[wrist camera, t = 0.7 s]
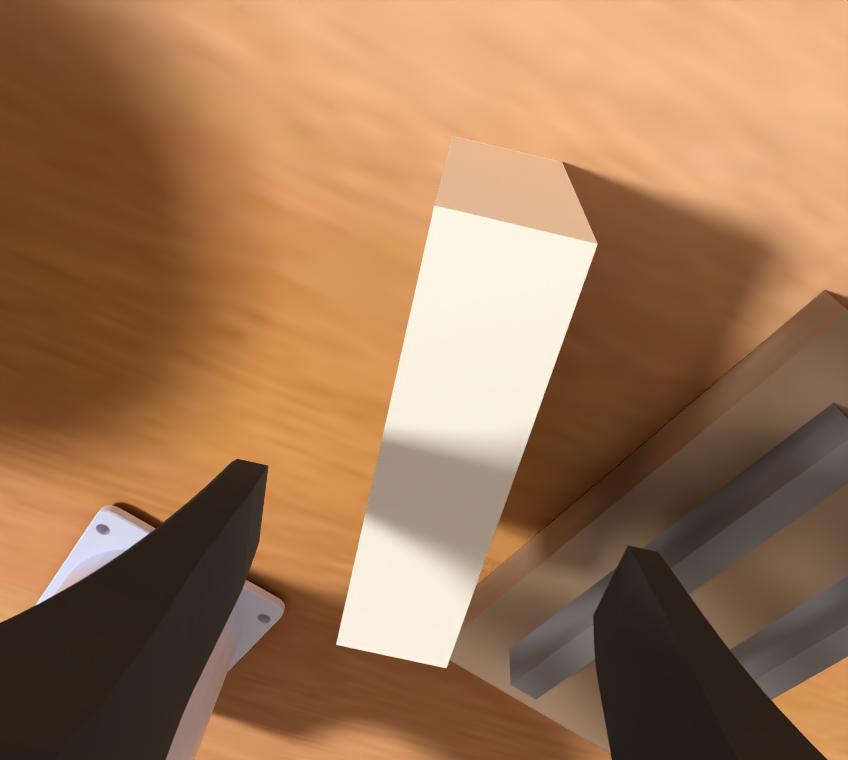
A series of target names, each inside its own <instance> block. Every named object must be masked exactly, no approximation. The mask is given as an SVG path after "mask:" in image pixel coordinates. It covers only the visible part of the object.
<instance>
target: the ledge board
mask: <svg viewBox="0 0 848 760" xmlns="http://www.w3.org/2000/svg"><path fill="white" fill-rule="evenodd" d="M628 545H629V546H634V547H638V548H643V549H647V550H652V551H656V552H658V553H659V554H660V555H661V557H662V558H663V559H664V561H665V562H666V563H667V565H668V566H669V567H670V569H671V570H672V572H673V573H674V574H675V576H676V577H677V579H678V580H679V581H680V583H681V584H682V586H683V587H684V588H685V590H686V591H687V593H688V594H689V595H690V597H691V598H692V600H693V601H694V602H695V604H696V605H697V607H698V608H699V609H700V611H701V612H702V613H703V615H704V616H705V618H706V619H707V620H708V622H709V623H710V624H711V626H712V627H713V628H714V630H715V631H716V632H717V634H718V635H719V636H720V638H721V639H722V640H723V642H724V643H725V644H726V646H727V647H728V648H729V650H730V651H731V652H732V653H733V655H734V656H735V657H736V658H737V660H738V661H739V662H740V664H741V665H742V666H743V667H744V668H745V670H746V671H747V672H748V673H749V674H750V676H751V677H752V678H753V679H754V681H755V682H756V683H757V684H758V685H759V687H760V688H761V689H762V690H763V691H764V693H765V694H766V695H767V696H768V697H769V698H770V699H771V700H772V699H774V698H775V697H777V696H779V695H781V694H783V693H784V692H786V691H788V690H790V689H791V688H793V687H795V686H797V685H798V684H800V683H802V682H804V681H805V680H807V679H809V678H811V677H812V676H814V675H816V674H818V673H819V672H821V671H823V670H825V669H827V668H828V667H830V666H832V665H834V664H835V663H837V662H839V661H841V660H842V659H844V658H846V657H848V310H847V309H846V308H845V307H844V306H843V305H841V304H840V303H839V302H838V301H837V300H836V299H835V298H833V297H832V296H831V295H830V294H829V293H828V292H827V291H825V290H824V291H823V292H822V293H821V294H819V295H818V296H817V297H816V298H815V299H814V300H812V301H811V302H810V303H809V304H808V305H806V306H805V307H804V308H803V309H802V310H801V311H799V312H798V313H797V314H796V315H795V316H794V317H792V318H791V319H790V320H789V321H788V322H786V323H785V324H784V325H783V326H782V327H781V328H779V329H778V330H777V331H776V332H775V333H774V334H772V335H771V336H770V337H769V338H768V339H766V340H765V341H764V342H763V343H762V344H761V345H759V346H758V347H757V348H756V349H755V350H754V351H752V352H751V353H750V354H749V355H748V356H746V357H745V358H744V359H743V360H742V361H741V362H739V363H738V364H737V365H736V366H735V367H734V368H732V369H731V370H730V371H729V372H728V373H726V374H725V375H724V376H723V377H722V378H721V379H719V380H718V381H717V382H716V383H715V384H714V385H712V386H711V387H710V388H709V389H708V390H706V391H705V392H704V393H703V394H702V395H701V396H699V397H698V398H697V399H696V400H695V401H694V402H692V403H691V404H690V405H689V406H688V407H686V408H685V409H684V410H683V411H682V412H681V413H679V414H678V415H677V416H676V417H675V418H673V419H672V420H671V421H670V422H669V423H668V424H666V425H665V426H664V427H663V428H662V429H661V430H659V431H658V432H657V433H656V434H655V435H653V436H652V437H651V438H650V439H649V440H648V441H646V442H645V443H644V444H643V445H642V446H641V447H639V448H638V449H637V450H636V451H635V452H633V453H632V454H631V455H630V456H629V457H628V458H626V459H625V460H624V461H623V462H622V463H621V464H619V465H618V466H617V467H616V468H615V469H613V470H612V471H611V472H610V473H609V474H608V475H606V476H605V477H604V478H603V479H602V480H601V481H599V482H598V483H597V484H596V485H595V486H593V487H592V488H591V489H590V490H589V491H588V492H586V493H585V494H584V495H583V496H582V497H581V498H579V499H578V500H577V501H576V502H575V503H573V504H572V505H571V506H570V507H569V508H568V509H566V510H565V511H564V512H563V513H562V514H561V515H559V516H558V517H557V518H556V519H555V520H553V521H552V522H551V523H550V524H549V525H548V526H546V527H545V528H544V529H543V530H542V531H541V532H539V533H538V534H537V535H536V536H535V537H533V538H532V539H531V540H530V541H529V542H528V543H526V544H525V545H524V546H523V547H522V548H521V549H519V550H518V551H517V552H516V553H515V554H513V555H512V556H511V557H510V558H509V559H508V560H506V561H505V562H504V563H503V564H502V565H501V566H499V567H498V568H497V569H496V570H495V571H493V572H492V573H491V574H490V575H489V576H488V577H486V578H485V579H484V580H483V581H482V582H481V583H479V584H478V585H477V586H476V587H475V590H474V592H473V595H472V598H471V601H470V604H469V607H468V609H467V612H466V615H465V618H464V621H463V623H462V626H461V629H460V632H459V635H458V637H457V640H456V643H455V646H454V649H453V651H452V654H451V657H450V661H451V662H453V663H455V664H457V665H458V666H460V667H462V668H464V669H465V670H467V671H469V672H470V673H472V674H474V675H476V676H477V677H479V678H481V679H482V680H484V681H486V682H488V683H489V684H491V685H493V686H494V687H496V688H498V689H500V690H501V691H503V692H505V693H506V694H508V695H510V696H512V697H513V698H515V699H517V700H519V701H520V702H522V703H524V704H525V705H527V706H529V707H531V708H532V709H534V710H536V711H537V712H539V713H541V714H543V715H544V716H546V717H548V718H549V719H551V720H553V721H555V722H556V723H558V724H560V725H562V726H563V727H565V728H567V729H568V730H570V731H572V732H574V733H575V734H577V735H579V736H580V737H582V738H584V739H586V740H587V741H589V742H591V743H592V744H594V745H596V746H598V747H599V748H601V749H603V750H605V751H606V752H608V753H610V754H611V752H610V746H609V741H608V735H607V730H606V724H605V718H604V713H603V707H602V702H601V696H600V690H599V684H598V678H597V672H596V666H595V651H594V627H593V615H594V613H595V611H596V609H597V606H598V604H599V602H600V600H601V598H602V596H603V594H604V592H605V590H606V588H607V586H608V584H609V582H610V580H611V578H612V576H613V574H614V572H615V570H616V568H617V566H618V564H619V562H620V560H621V558H622V556H623V554H624V552H625V550H626V548H627V546H628Z"/></svg>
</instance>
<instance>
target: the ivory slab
mask: <svg viewBox="0 0 848 760" xmlns="http://www.w3.org/2000/svg"><path fill="white" fill-rule="evenodd" d="M597 245H598V244H597V241H596V239H595V237H594V234H593V232H592V230H591V227H590V225H589V223H588V220H587V218H586V216H585V214H584V211H583V209H582V207H581V204H580V202H579V200H578V197H577V195H576V193H575V191H574V188H573V186H572V184H571V181H570V179H569V177H568V174H567V172H566V170H565V168H564V165H563V163H562V161H558V160H554V159H550V158H546V157H541V156H537V155H533V154H529V153H525V152H521V151H516V150H512V149H508V148H504V147H500V146H496V145H492V144H487V143H483V142H479V141H475V140H471V139H467V138H462V137H458V136H454V135H452V138H451V142H450V146H449V150H448V154H447V158H446V162H445V166H444V170H443V174H442V178H441V182H440V186H439V190H438V194H437V198H436V202H435V205H434V210H433V214H432V219H431V223H430V228H429V232H428V237H427V241H426V246H425V250H424V255H423V259H422V264H421V268H420V272H419V277H418V281H417V286H416V290H415V295H414V299H413V304H412V308H411V313H410V317H409V322H408V326H407V331H406V335H405V339H404V344H403V348H402V353H401V357H400V362H399V366H398V371H397V375H396V380H395V384H394V389H393V393H392V398H391V402H390V406H389V411H388V415H387V420H386V424H385V429H384V433H383V438H382V442H381V447H380V451H379V456H378V460H377V465H376V469H375V473H374V478H373V482H372V487H371V491H370V496H369V500H368V505H367V509H366V514H365V518H364V523H363V527H362V532H361V536H360V540H359V545H358V549H357V554H356V558H355V563H354V567H353V572H352V576H351V581H350V585H349V590H348V594H347V599H346V603H345V607H344V612H343V616H342V621H341V625H340V630H339V634H338V639H337V643H336V645H340V646H344V647H349V648H354V649H359V650H363V651H368V652H373V653H377V654H382V655H387V656H391V657H396V658H401V659H405V660H410V661H415V662H419V663H424V664H429V665H433V666H438V667H443V668H447V665H448V663H449V660H450V657H451V654H452V651H453V649H454V646H455V643H456V640H457V637H458V635H459V632H460V629H461V626H462V623H463V621H464V618H465V615H466V612H467V609H468V607H469V604H470V601H471V598H472V595H473V592H474V590H475V587H476V584H477V581H478V578H479V576H480V573H481V570H482V567H483V564H484V562H485V559H486V556H487V553H488V550H489V548H490V545H491V542H492V539H493V536H494V534H495V531H496V528H497V525H498V522H499V520H500V517H501V514H502V511H503V508H504V506H505V503H506V500H507V497H508V494H509V492H510V489H511V486H512V483H513V480H514V477H515V475H516V472H517V469H518V466H519V463H520V461H521V458H522V455H523V452H524V449H525V447H526V444H527V441H528V438H529V435H530V433H531V430H532V427H533V424H534V421H535V419H536V416H537V413H538V410H539V407H540V405H541V402H542V399H543V396H544V393H545V391H546V388H547V385H548V382H549V379H550V377H551V374H552V371H553V368H554V365H555V362H556V360H557V357H558V354H559V351H560V348H561V346H562V343H563V340H564V337H565V334H566V332H567V329H568V326H569V323H570V320H571V318H572V315H573V312H574V309H575V306H576V304H577V301H578V298H579V295H580V292H581V290H582V287H583V284H584V281H585V278H586V276H587V273H588V270H589V267H590V264H591V262H592V259H593V256H594V253H595V250H596V247H597Z"/></svg>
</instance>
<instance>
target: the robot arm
mask: <svg viewBox="0 0 848 760" xmlns="http://www.w3.org/2000/svg"><path fill="white" fill-rule="evenodd" d="M267 473H268V466H267V465H263V464H258V463H254V462H249V461H245V460H240V459H236V460H235V461H233V462H231V463H230V464H229V465H228V466H227V467H226V468H225V469H224V470H223V471H222V472H221V473H220V474H219V475H218V476H217V477H216V478H215V479H213V480H212V481H211V482H210V483H209V484H208V485H207V486H206V487H205V488H204V489H203V490H201V491H200V492H199V493H198V494H197V495H196V496H195V497H193V498H192V499H191V500H190V501H189V502H188V503H186V504H185V505H184V506H183V507H182V508H180V509H179V510H178V511H177V512H176V513H174V514H173V515H172V516H171V517H170V518H168V519H167V520H166V521H165V522H163V523H162V524H161V525H160V526H158V527H157V528H154V527H152V526H150V525H149V524H147V523H145V522H143V521H142V520H140V519H138V518H136V517H135V516H133V515H131V514H129V513H127V512H126V511H124V510H122V509H120V508H119V507H116V506H113V505H106V506H103V507H102V508H101V509H100V510H99V512H98V513H97V514H96V516H95V517H94V519H93V520H92V522H91V523H90V525H89V526H88V528H87V529H86V531H85V532H84V534H83V535H82V537H81V538H80V539H79V541H78V542H77V544H76V545H75V547H74V548H73V550H72V551H71V553H70V554H69V556H68V557H67V559H66V560H65V562H64V563H63V565H62V566H61V568H60V569H59V571H58V572H57V574H56V575H55V577H54V578H53V580H52V581H51V583H50V584H49V586H48V587H47V589H46V590H45V591H44V593H43V594H42V596H41V597H40V599H39V600H38V602H37V603H36V605H35V606H34V607H32V608H30V609H28V610H26V611H24V612H22V613H20V614H18V615H16V616H14V617H12V618H10V619H8V620H5V621H3V622H1V623H0V760H194V759H195V756H196V754H197V751H198V748H199V746H200V743H201V741H202V738H203V735H204V733H205V730H206V727H207V725H208V722H209V720H210V717H211V714H212V712H213V709H214V706H215V704H216V701H217V699H218V696H219V693H220V691H221V688H222V685H223V683H224V680H225V678H226V675H227V672H228V671H229V670H230V669H231V668H232V667H233V666H234V665H235V664H236V663H237V662H238V661H239V660H240V659H241V658H242V657H243V656H244V655H245V654H246V653H247V652H248V651H249V650H250V649H251V648H252V647H253V646H254V645H255V643H256V642H257V641H258V640H259V639H260V638H261V637H262V636H263V635H264V634H265V633H266V632H267V631H268V630H269V629H270V628H271V627H272V626H273V625H274V624H275V623H276V622H277V621H278V620H279V619H280V618H281V617H282V615H283V613H284V610H285V604H284V603H283V601H282V600H281V599H279V598H278V597H276V596H274V595H272V594H271V593H269V592H267V591H265V590H263V589H262V588H260V587H258V586H256V585H255V584H253V583H251V582H249V581H248V580H246V578H247V575H248V573H249V570H250V567H251V564H252V561H253V558H254V555H255V553H256V550H257V547H258V544H259V538H260V529H261V521H262V513H263V505H264V497H265V489H266V481H267ZM104 525H106V526H107V527H105V526H104ZM264 614H265V615H264ZM593 627H594V651H595V666H596V672H597V678H598V684H599V690H600V696H601V702H602V707H603V713H604V718H605V724H606V730H607V735H608V741H609V746H610V752H611V757H612V760H827V759H826V758H825V757H824V756H823V755H822V754H821V753H820V752H819V751H818V750H817V749H816V748H815V747H814V746H813V745H812V744H811V743H810V742H809V741H808V740H807V739H806V737H805V736H804V735H803V734H802V733H801V732H800V731H799V730H798V729H797V728H796V727H795V726H794V725H793V724H792V723H791V721H790V720H789V719H788V718H787V717H786V716H785V715H784V714H783V713H782V712H781V711H780V710H779V709H778V707H777V706H776V705H775V704H774V703H773V702H772V701H771V699H770V698H769V697H768V696H767V695H766V694H765V693H764V691H763V690H762V689H761V688H760V687H759V685H758V684H757V683H756V682H755V681H754V679H753V678H752V677H751V676H750V674H749V673H748V672H747V671H746V670H745V668H744V667H743V666H742V665H741V664H740V662H739V661H738V660H737V658H736V657H735V656H734V655H733V653H732V652H731V651H730V650H729V648H728V647H727V646H726V644H725V643H724V642H723V640H722V639H721V638H720V636H719V635H718V634H717V632H716V631H715V630H714V628H713V627H712V626H711V624H710V623H709V622H708V620H707V619H706V618H705V616H704V615H703V613H702V612H701V611H700V609H699V608H698V607H697V605H696V604H695V602H694V601H693V600H692V598H691V597H690V595H689V594H688V593H687V591H686V590H685V588H684V587H683V586H682V584H681V583H680V581H679V580H678V579H677V577H676V576H675V574H674V573H673V572H672V570H671V569H670V567H669V566H668V565H667V563H666V562H665V561H664V559H663V558H662V557H661V555H660V554H659V553H658V552H656V551H652V550H647V549H643V548H638V547H634V546H629V545H628V546H627V548H626V550H625V552H624V554H623V556H622V558H621V560H620V562H619V564H618V566H617V568H616V570H615V572H614V574H613V576H612V578H611V580H610V582H609V584H608V586H607V588H606V590H605V592H604V594H603V596H602V598H601V600H600V602H599V604H598V606H597V609H596V611H595V613H594V615H593Z"/></svg>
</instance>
